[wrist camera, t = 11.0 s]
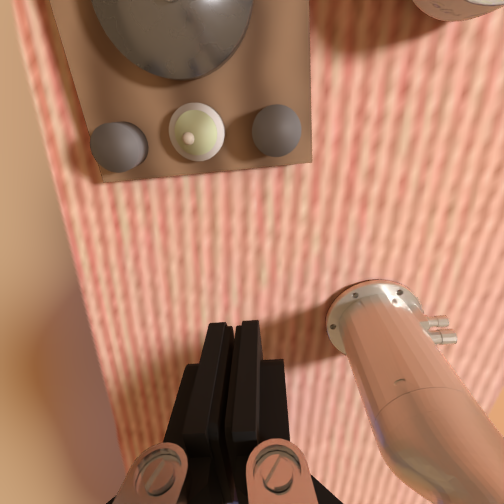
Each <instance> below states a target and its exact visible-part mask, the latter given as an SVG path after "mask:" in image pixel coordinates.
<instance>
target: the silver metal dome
mask: <svg viewBox="0 0 504 504" xmlns="http://www.w3.org/2000/svg"><path fill="white" fill-rule="evenodd" d="M91 2H92V5H93V8H94V11H95V13H96V15H97V18H98V20H99V22H100V24H101V26H102V28H103V29H104V31H105V33H106V35H107V36H108V37H109V39H110V40H111V41H112V43H113V44H114V45H115V47H116V48H117V49H118V50H119V51H120V52H121V53H122V54H123V55H124V56H125V57H126V58H127V59H128V60H130V61H131V62H132V63H134V64H135V65H137V66H138V67H139V68H141V69H143V70H145V71H147V72H149V73H152V74H154V75H157V76H160V77H164V78H168V79H172V80H183V81H184V80H194V79H198V78H202V77H204V76H207V75H209V74H211V73H213V72H215V71H216V70H218V69H219V68H221V67H222V66H223V65H224V64H225V63H226V62H227V61H228V60H229V59H230V58H231V57H232V56H233V55H234V53H235V52H236V51H237V49H238V48H239V46H240V44H241V42H242V40H243V39H244V36H245V34H246V31H247V29H248V26H249V22H250V19H251V15H252V8H253V0H91Z"/></svg>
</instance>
